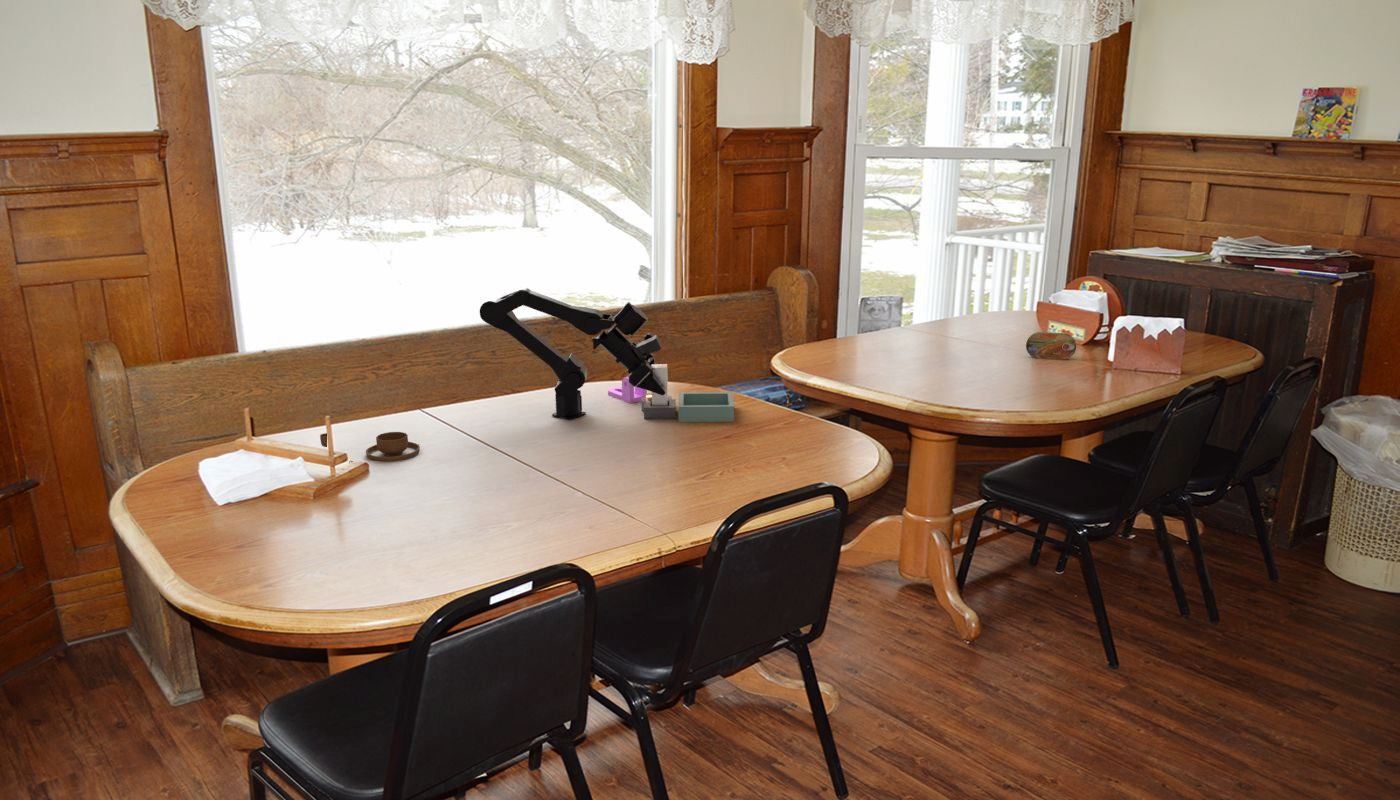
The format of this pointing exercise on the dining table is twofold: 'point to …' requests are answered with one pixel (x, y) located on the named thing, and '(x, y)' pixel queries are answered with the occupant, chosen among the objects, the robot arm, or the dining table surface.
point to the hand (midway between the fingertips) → (664, 389)
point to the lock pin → (661, 377)
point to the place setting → (387, 446)
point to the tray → (706, 407)
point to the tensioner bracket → (658, 408)
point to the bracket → (627, 392)
